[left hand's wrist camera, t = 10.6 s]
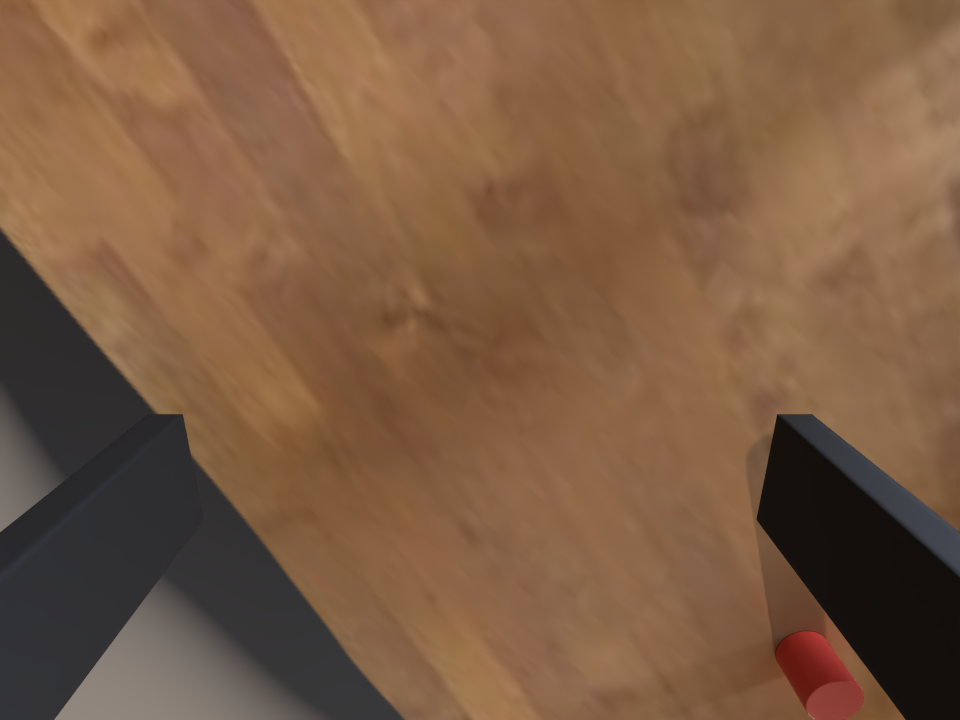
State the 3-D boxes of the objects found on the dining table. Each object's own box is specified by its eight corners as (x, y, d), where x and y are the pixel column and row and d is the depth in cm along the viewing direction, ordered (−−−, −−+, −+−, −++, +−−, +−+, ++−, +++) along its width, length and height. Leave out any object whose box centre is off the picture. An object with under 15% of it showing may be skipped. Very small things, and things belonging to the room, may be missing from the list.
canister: (769, 641, 46) (799, 692, 42) (820, 623, 45) (857, 673, 41) (783, 676, 47) (813, 729, 43) (833, 660, 47) (869, 712, 42)
